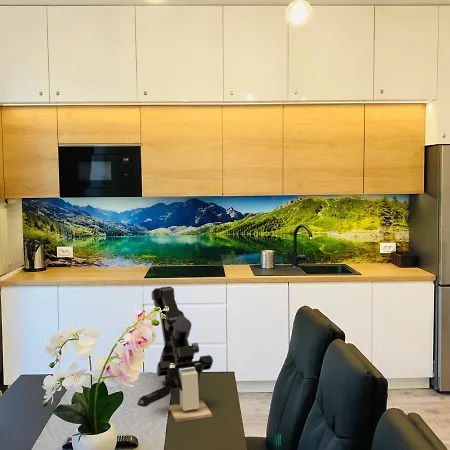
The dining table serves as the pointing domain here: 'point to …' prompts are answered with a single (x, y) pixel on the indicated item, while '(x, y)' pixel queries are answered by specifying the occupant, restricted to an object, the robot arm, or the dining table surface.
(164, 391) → the electric trimmer
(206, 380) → the dining table surface
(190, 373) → the beige rectangular block
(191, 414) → the post stand
